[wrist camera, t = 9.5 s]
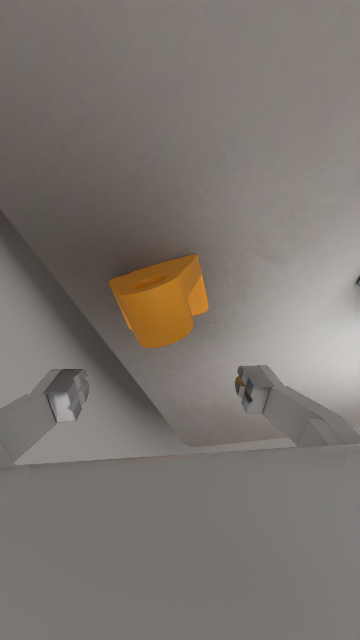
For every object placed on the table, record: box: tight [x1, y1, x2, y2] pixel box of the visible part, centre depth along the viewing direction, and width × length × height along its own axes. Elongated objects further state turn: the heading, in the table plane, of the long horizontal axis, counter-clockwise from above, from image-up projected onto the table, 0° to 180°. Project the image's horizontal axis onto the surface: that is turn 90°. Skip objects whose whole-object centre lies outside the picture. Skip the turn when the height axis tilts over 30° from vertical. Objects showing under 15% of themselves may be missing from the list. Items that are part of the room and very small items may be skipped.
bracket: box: [108, 254, 209, 348], centre depth 19 cm, size 11×7×12 cm, turn 105°
